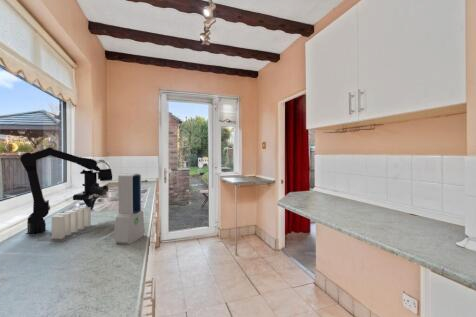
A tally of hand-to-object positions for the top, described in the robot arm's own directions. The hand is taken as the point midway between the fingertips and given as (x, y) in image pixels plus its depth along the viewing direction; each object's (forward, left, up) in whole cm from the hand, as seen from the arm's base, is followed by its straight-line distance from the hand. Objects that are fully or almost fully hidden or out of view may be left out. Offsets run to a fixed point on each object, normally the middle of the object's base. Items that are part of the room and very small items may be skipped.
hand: (90, 210), depth 128 cm
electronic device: (+33, -19, -8) cm, 39 cm away
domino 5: (0, -4, -7) cm, 9 cm away
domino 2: (0, -18, -7) cm, 19 cm away
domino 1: (+1, -22, -7) cm, 23 cm away
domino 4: (0, -9, -7) cm, 11 cm away
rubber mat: (0, -14, -8) cm, 16 cm away
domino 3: (0, -13, -7) cm, 15 cm away
